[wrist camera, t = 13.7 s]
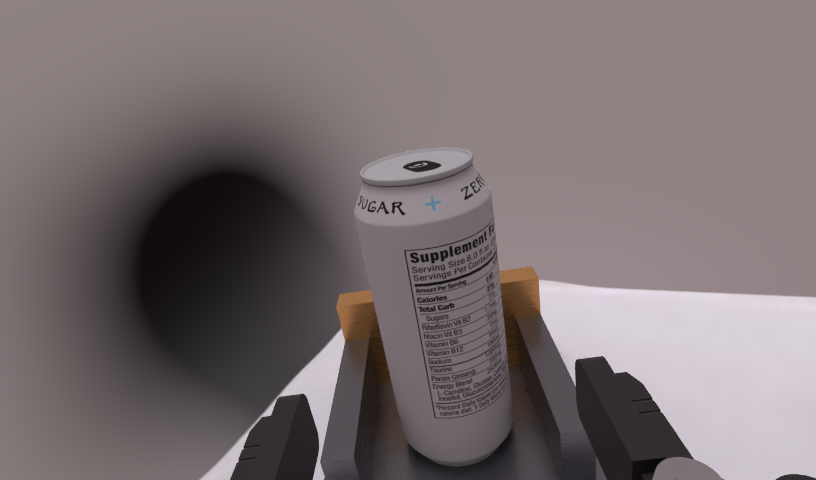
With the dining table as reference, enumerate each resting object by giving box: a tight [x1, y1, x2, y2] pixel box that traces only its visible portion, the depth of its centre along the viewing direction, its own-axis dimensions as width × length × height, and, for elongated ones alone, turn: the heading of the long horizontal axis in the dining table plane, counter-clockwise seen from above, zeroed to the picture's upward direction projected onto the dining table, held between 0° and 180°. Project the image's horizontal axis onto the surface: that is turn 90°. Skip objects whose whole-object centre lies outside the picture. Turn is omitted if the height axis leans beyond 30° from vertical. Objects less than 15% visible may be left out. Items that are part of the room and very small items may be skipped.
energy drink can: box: [354, 147, 513, 467], centre depth 23 cm, size 6×6×15 cm
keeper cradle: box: [320, 267, 607, 480], centre depth 25 cm, size 14×14×7 cm
